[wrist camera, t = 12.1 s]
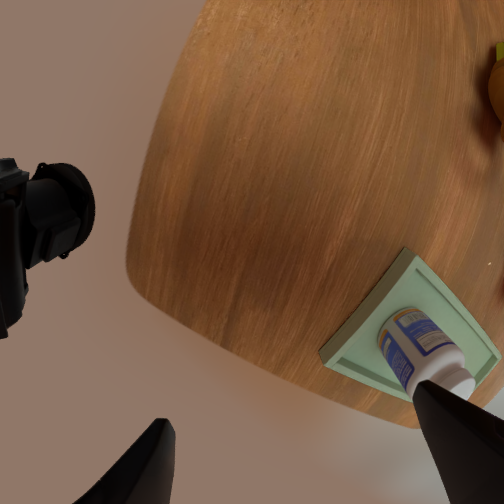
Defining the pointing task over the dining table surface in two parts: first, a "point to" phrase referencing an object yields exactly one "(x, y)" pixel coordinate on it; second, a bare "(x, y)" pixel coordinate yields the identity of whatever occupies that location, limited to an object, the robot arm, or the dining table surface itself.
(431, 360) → the pill bottle
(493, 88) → the plumb bob
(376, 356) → the tray
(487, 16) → the dining table surface
